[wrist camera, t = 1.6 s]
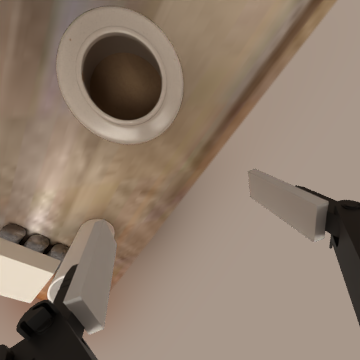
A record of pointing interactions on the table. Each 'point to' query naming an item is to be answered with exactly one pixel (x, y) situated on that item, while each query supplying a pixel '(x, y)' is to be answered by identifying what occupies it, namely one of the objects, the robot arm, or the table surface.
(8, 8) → the table surface
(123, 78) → the vase
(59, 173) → the table surface
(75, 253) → the cup
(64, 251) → the rollers
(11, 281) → the board
